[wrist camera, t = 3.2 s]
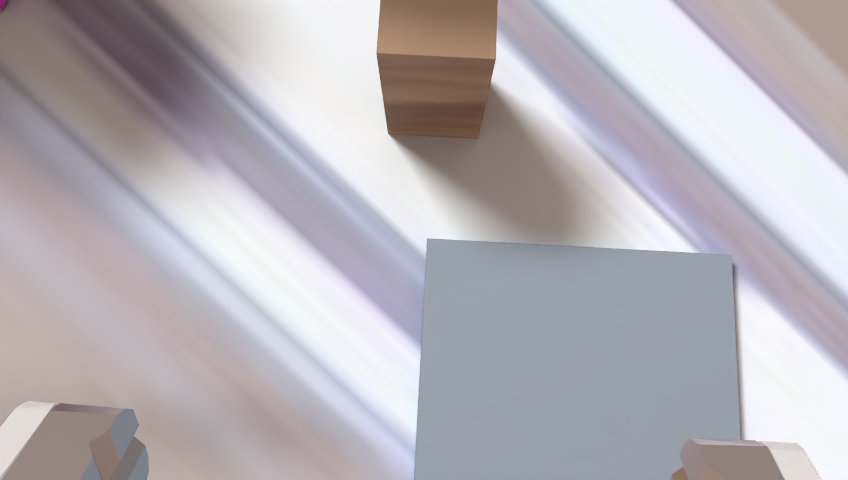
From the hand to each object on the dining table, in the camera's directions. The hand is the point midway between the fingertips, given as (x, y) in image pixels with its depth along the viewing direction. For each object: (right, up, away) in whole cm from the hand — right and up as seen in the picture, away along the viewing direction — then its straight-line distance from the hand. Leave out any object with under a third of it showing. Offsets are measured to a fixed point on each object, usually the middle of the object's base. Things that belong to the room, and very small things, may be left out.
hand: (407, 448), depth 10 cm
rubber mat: (+8, -5, +23) cm, 25 cm away
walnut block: (+1, +11, +26) cm, 29 cm away
